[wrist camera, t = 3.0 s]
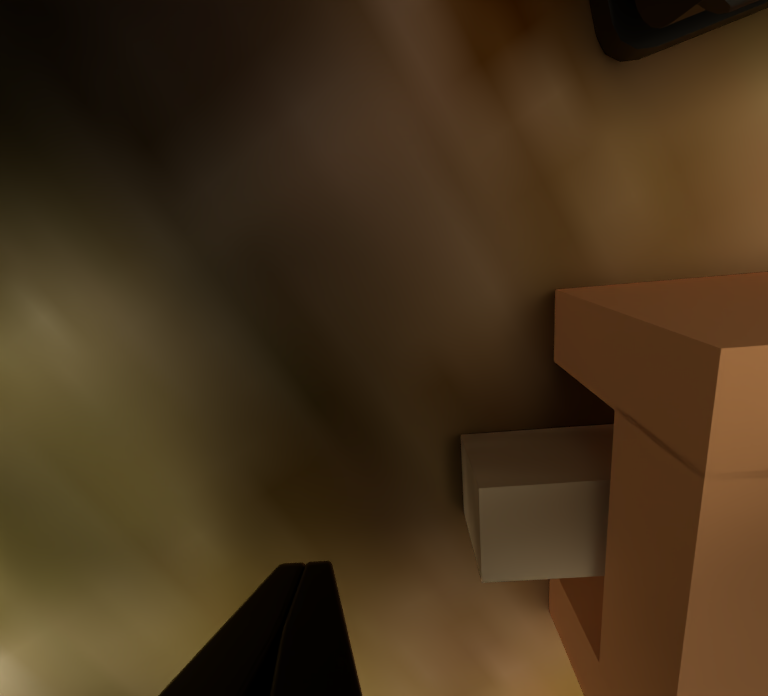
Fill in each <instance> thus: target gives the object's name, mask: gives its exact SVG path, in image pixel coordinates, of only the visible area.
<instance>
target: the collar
mask: <svg viewBox="0 0 768 696" xmlns="http://www.w3.org/2000/svg"><path fill="white" fill-rule="evenodd" d="M554 362H555V363H557V364H558V365H559V366H560V367H562V368H563V369H564V370H565V371H567V372H568V373H569V374H570V375H571V376H573V377H574V378H575V379H576V380H578V381H579V382H580V383H581V384H583V385H584V386H585V387H586V388H588V389H589V390H590V391H591V392H593V393H594V394H595V395H596V396H598V397H599V398H600V399H601V400H603V401H604V402H605V403H606V404H608V405H609V406H610V407H611V408H612V409H614V410H615V414H614V431H613V447H612V463H611V479H610V496H609V512H608V528H607V545H606V561H605V576H593V577H576V578H558V579H550V585H549V612H550V614H551V617H552V619H553V621H554V624H555V626H556V629H557V631H558V633H559V636H560V638H561V641H562V643H563V646H564V648H565V650H566V653H567V655H568V658H569V660H570V663H571V665H572V667H573V670H574V672H575V675H576V677H577V679H578V682H579V684H580V687H581V689H582V692H583V694H584V696H768V272H757V273H745V274H733V275H721V276H709V277H697V278H685V279H673V280H661V281H650V282H638V283H626V284H614V285H602V286H590V287H578V288H566V289H555V330H554Z"/></svg>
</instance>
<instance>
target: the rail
mask: <svg viewBox="0 0 768 696" xmlns="http://www.w3.org/2000/svg"><path fill="white" fill-rule="evenodd" d="M613 431H614V424H604V425H590V426H576V427H562V428H548V429H534V430H520V431H505V432H491V433H477V434H463V435H461V455H462V478H463V501H464V515H465V519H466V523H467V527H468V531H469V535H470V539H471V543H472V546H473V550H474V554H475V558H476V562H477V566H478V570H479V574H480V578H481V582H482V583H487V582H505V581H523V580H540V579H558V578H576V577H593V576H605V561H606V545H607V528H608V512H609V496H610V479H611V463H612V447H613Z"/></svg>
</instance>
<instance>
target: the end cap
mask: <svg viewBox="0 0 768 696" xmlns="http://www.w3.org/2000/svg"><path fill="white" fill-rule="evenodd" d="M590 5H591V9H592V14H593V19H594V24H595V29H596V34H597V38H598V40H599V42H600V44H601V46H602V48H603V50H604V52H605V54H607V55H609V56H611V57H613V58H615V59H617V60H619V61H629V60H637V59H641V58H643V57H646V56H648V55H651V54H653V53H656V52H658V51H661V50H663V49H666V48H668V47H671V46H673V45H676V44H678V43H681V42H683V41H686V40H688V39H691V38H693V37H696V36H698V35H701V34H703V33H706V32H708V31H711V30H713V29H716V28H718V27H721V26H723V25H726V24H728V23H731V22H733V21H736V20H738V19H741V18H743V17H746V16H748V15H751V14H753V13H756V12H758V11H761V10H763V9H766V8H768V0H590Z"/></svg>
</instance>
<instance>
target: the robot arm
mask: <svg viewBox="0 0 768 696" xmlns="http://www.w3.org/2000/svg"><path fill="white" fill-rule="evenodd" d="M158 696H362V692H361V688H360V683H359V679H358V675H357V670H356V666H355V662H354V657H353V653H352V649H351V644H350V640H349V636H348V631H347V627H346V622H345V618H344V614H343V609H342V605H341V601H340V596H339V592H338V588H337V583H336V579H335V575H334V570H333V566H332V563H331V562H330V561H316V562H309V563H307V564H306V565H305V564H304V563H301V562H300V563H284V564H281V565H279V566H278V567H277V568H276V569H275V570H274V571H273V572H272V573H271V574H270V575H269V576H268V578H267V579H266V580H265V581H264V582H263V583H262V584H261V585H260V586H259V587H258V588H257V589H256V590H255V592H254V593H253V594H252V595H251V596H250V597H249V598H248V599H247V600H246V601H245V602H244V603H243V605H242V606H241V607H240V608H239V609H238V610H237V611H236V612H235V613H234V614H233V615H232V616H231V618H230V619H229V620H228V621H227V622H226V623H225V624H224V625H223V626H222V627H221V628H220V629H219V631H218V632H217V633H216V634H215V635H214V636H213V637H212V638H211V639H210V640H209V641H208V642H207V644H206V645H205V646H204V647H203V648H202V649H201V650H200V651H199V652H198V653H197V654H196V655H195V657H194V658H193V659H192V660H191V661H190V662H189V663H188V664H187V665H186V666H185V667H184V668H183V669H182V671H181V672H180V673H179V674H178V675H177V676H176V677H175V678H174V679H173V680H172V681H171V682H170V684H169V685H168V686H167V687H166V688H165V689H164V690H163V691H162V692H161V693H160V694H159V695H158Z"/></svg>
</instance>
